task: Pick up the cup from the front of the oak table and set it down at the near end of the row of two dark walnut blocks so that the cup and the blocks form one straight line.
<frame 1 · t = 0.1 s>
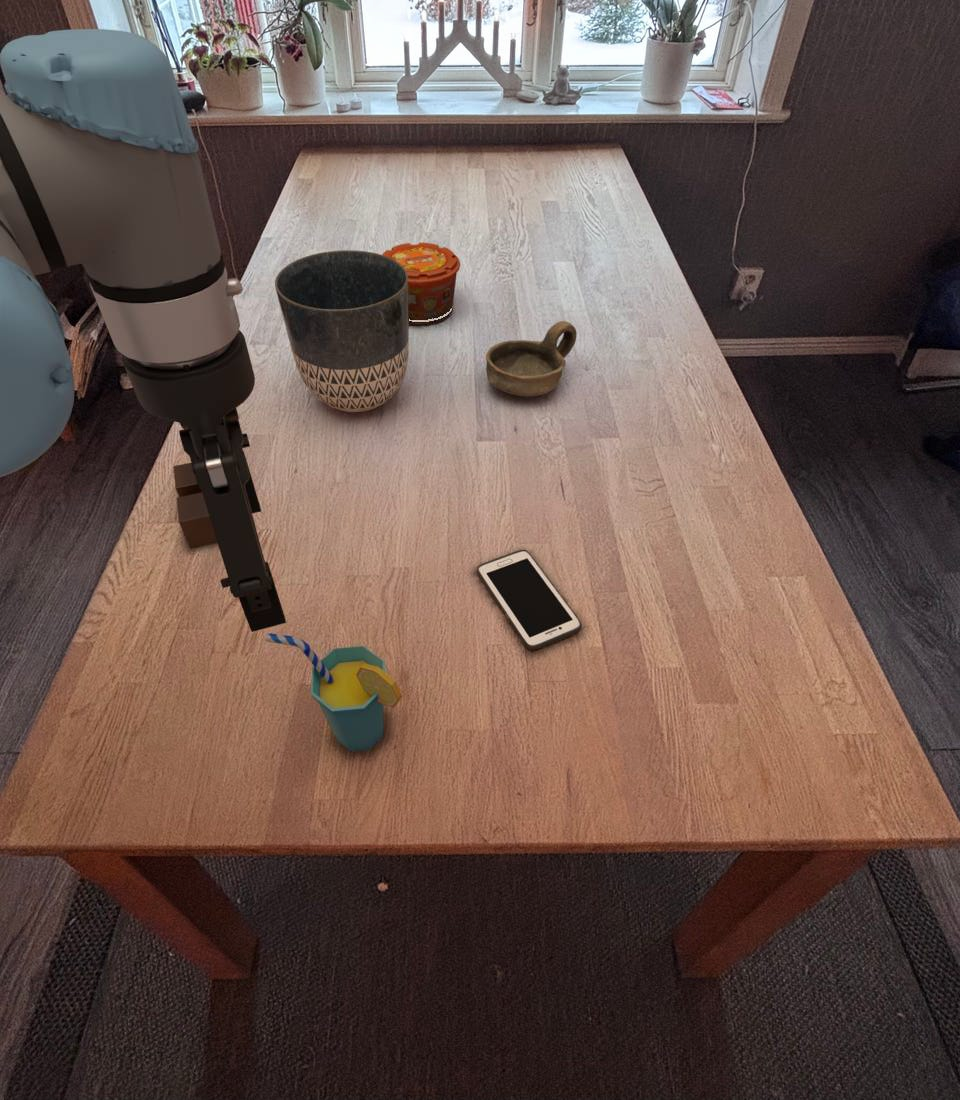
hand: (256, 564, 58), 24 cm above the table, tool pointing down, fingers open, 13 cm apart
cup: (352, 728, 74), on the table
cell phone: (526, 600, 87), on the table
walnut block far: (202, 499, 98), on the table
walnut block near: (207, 531, 94), on the table
bowl: (530, 385, 120), on the table
planter: (358, 401, 116), on the table
food container: (421, 311, 138), on the table
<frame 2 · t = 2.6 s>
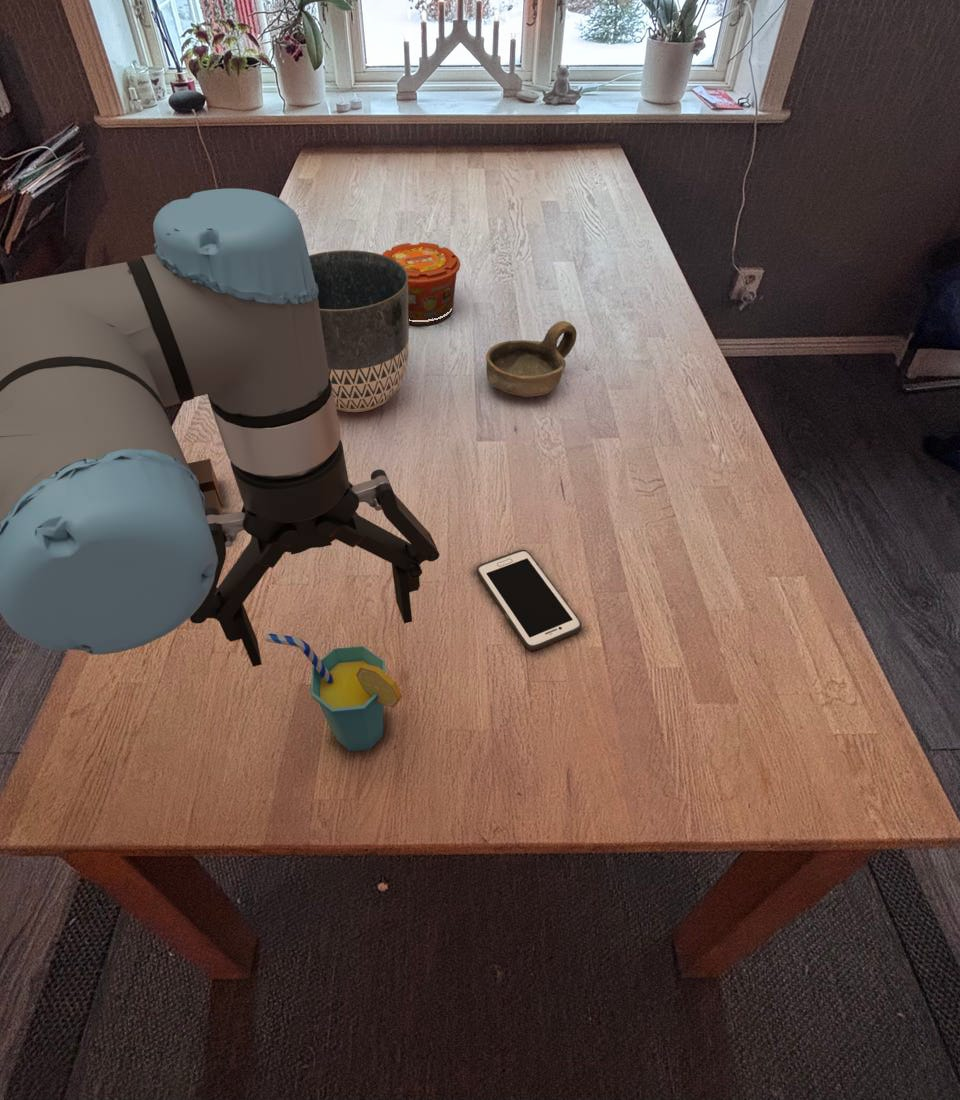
hand: (331, 632, 61), 17 cm above the table, tool pointing down, fingers open, 13 cm apart
nothing on the table moved.
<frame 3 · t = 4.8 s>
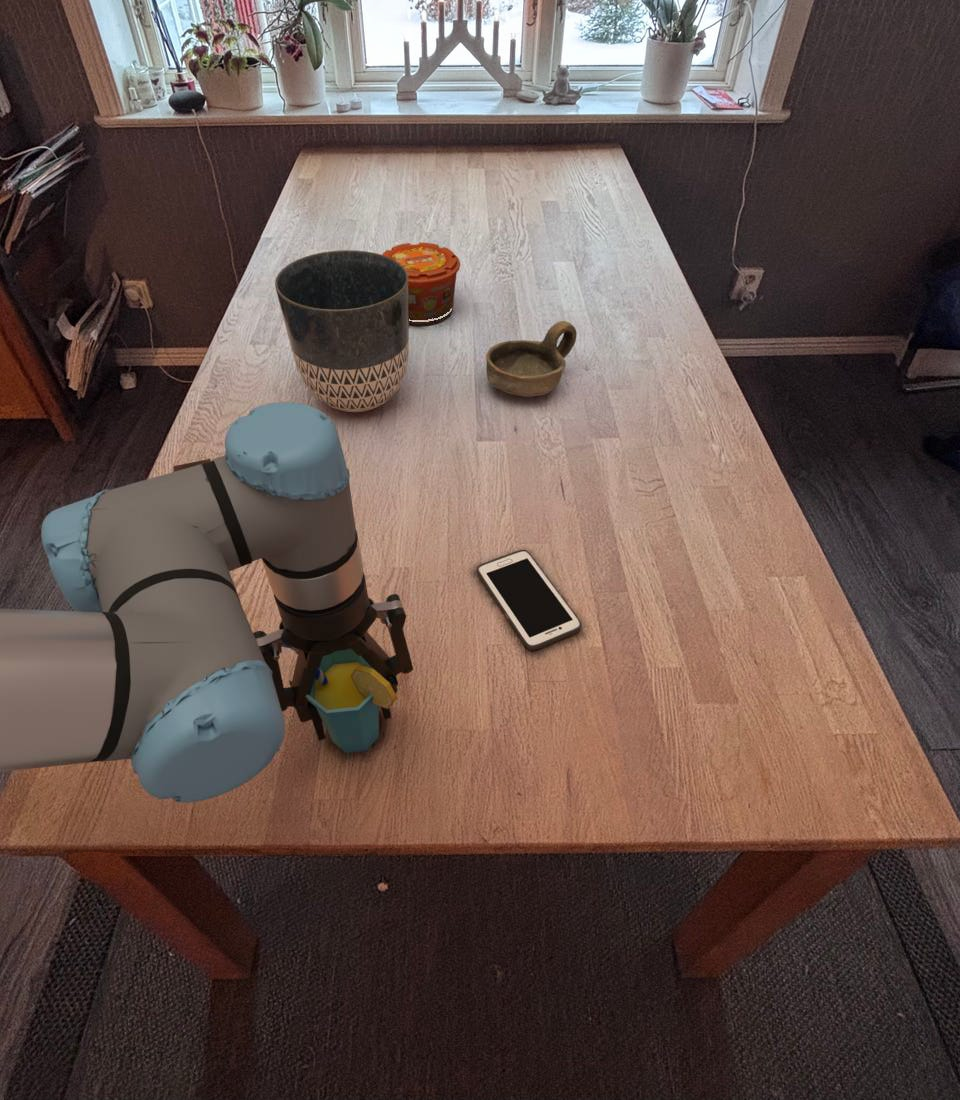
hand: (352, 718, 73), 2 cm above the table, tool pointing down, fingers closed on cup, 6 cm apart
cup: (348, 729, 74), on the table, touching gripper
everything else where it was.
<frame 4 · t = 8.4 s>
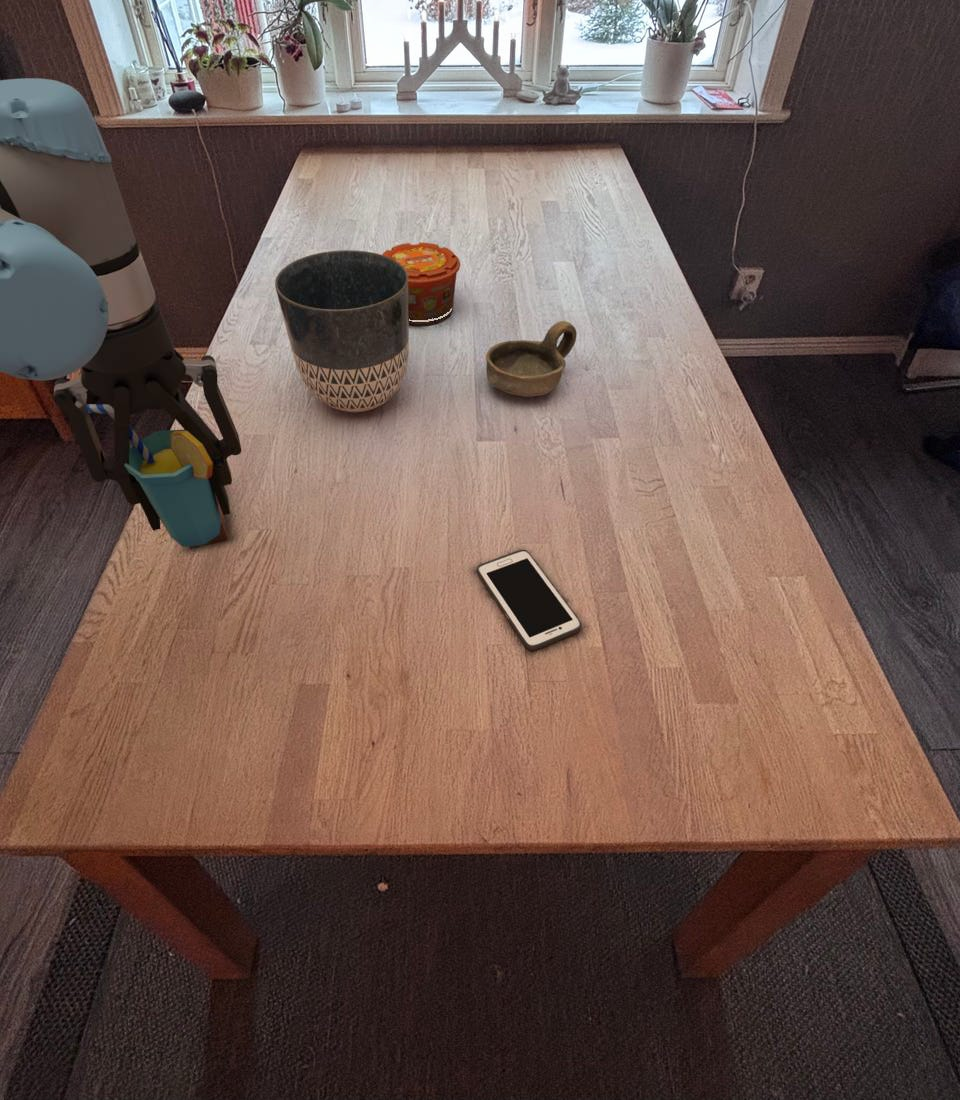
hand: (191, 513, 72), 17 cm above the table, tool pointing down, fingers closed on cup, 6 cm apart
cup: (189, 529, 73), point 15 cm above the table, touching gripper
everything else where it was.
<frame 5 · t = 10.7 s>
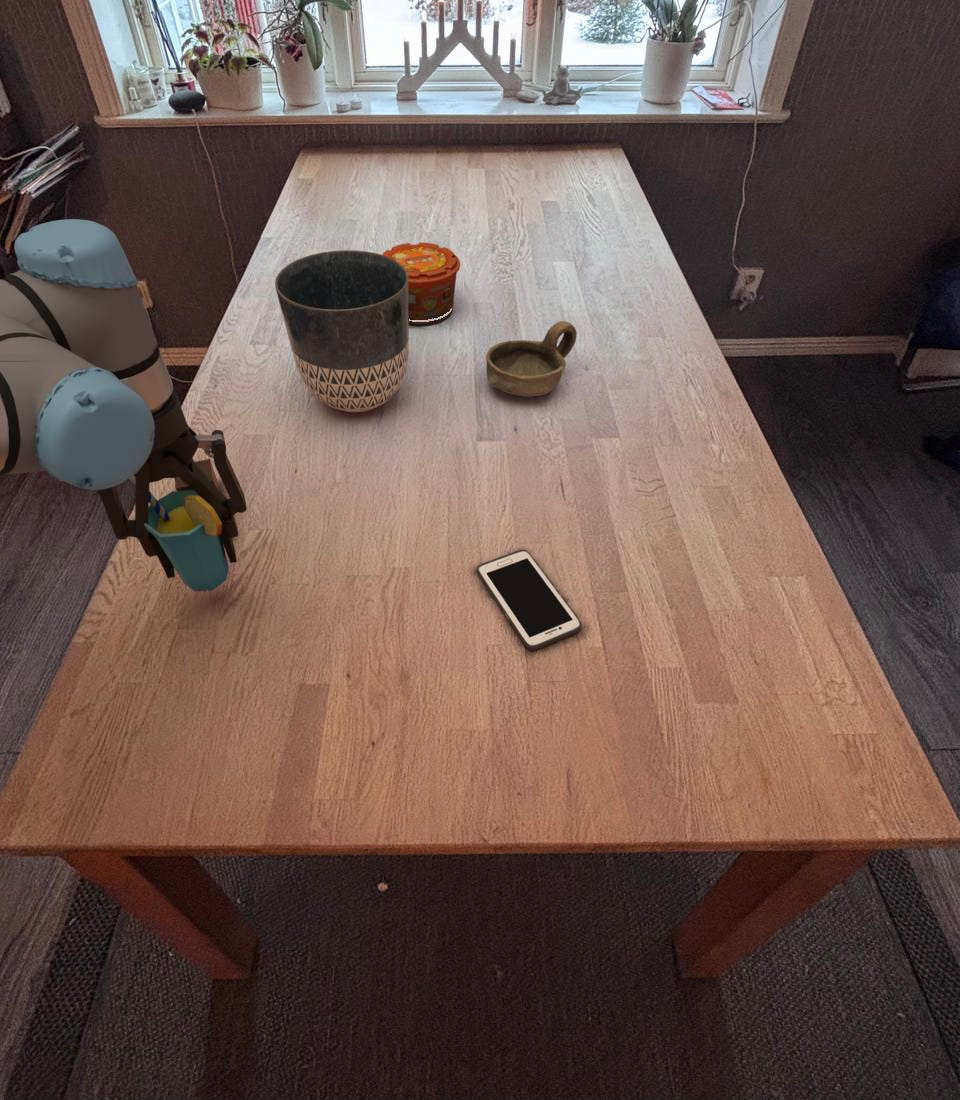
hand: (201, 561, 81), 7 cm above the table, tool pointing down, fingers closed on cup, 6 cm apart
cup: (200, 574, 82), point 5 cm above the table, touching gripper
everything else where it was.
when the fingers open (2 cm above the table, at t = 12.3 s): cup stays where it is, on the table.
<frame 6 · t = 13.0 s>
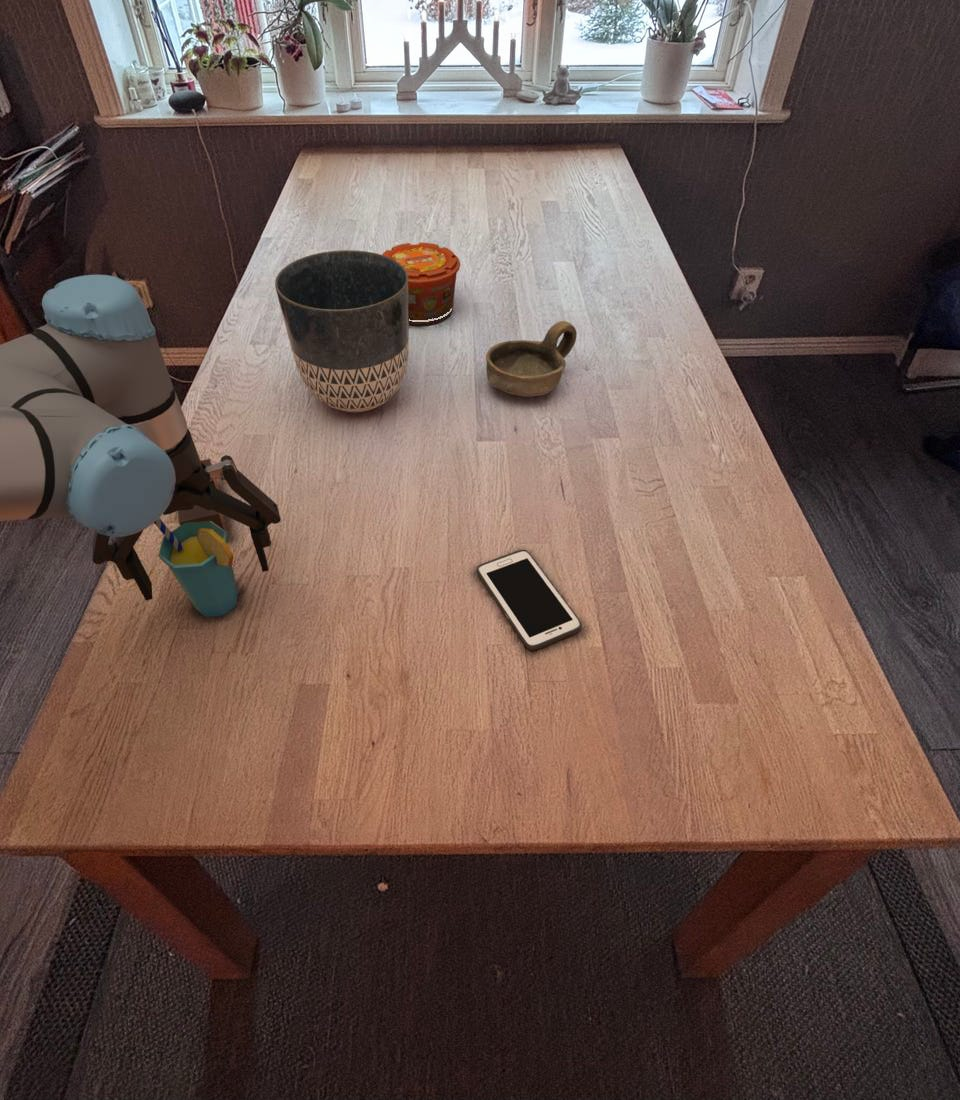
hand: (207, 577, 83), 4 cm above the table, tool pointing down, fingers open, 13 cm apart
cup: (211, 600, 86), on the table
everything else where it was.
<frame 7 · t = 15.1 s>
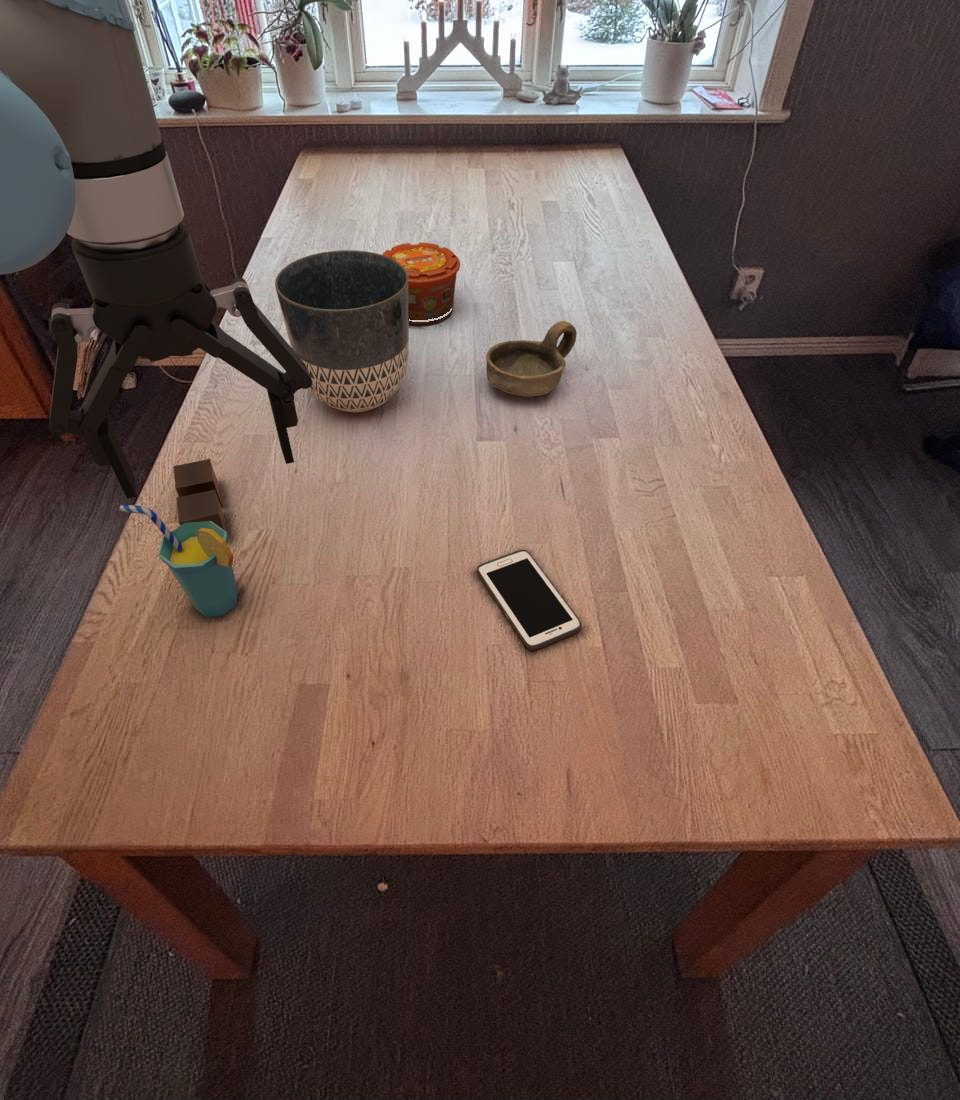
hand: (211, 471, 61), 27 cm above the table, tool pointing down, fingers open, 13 cm apart
nothing on the table moved.
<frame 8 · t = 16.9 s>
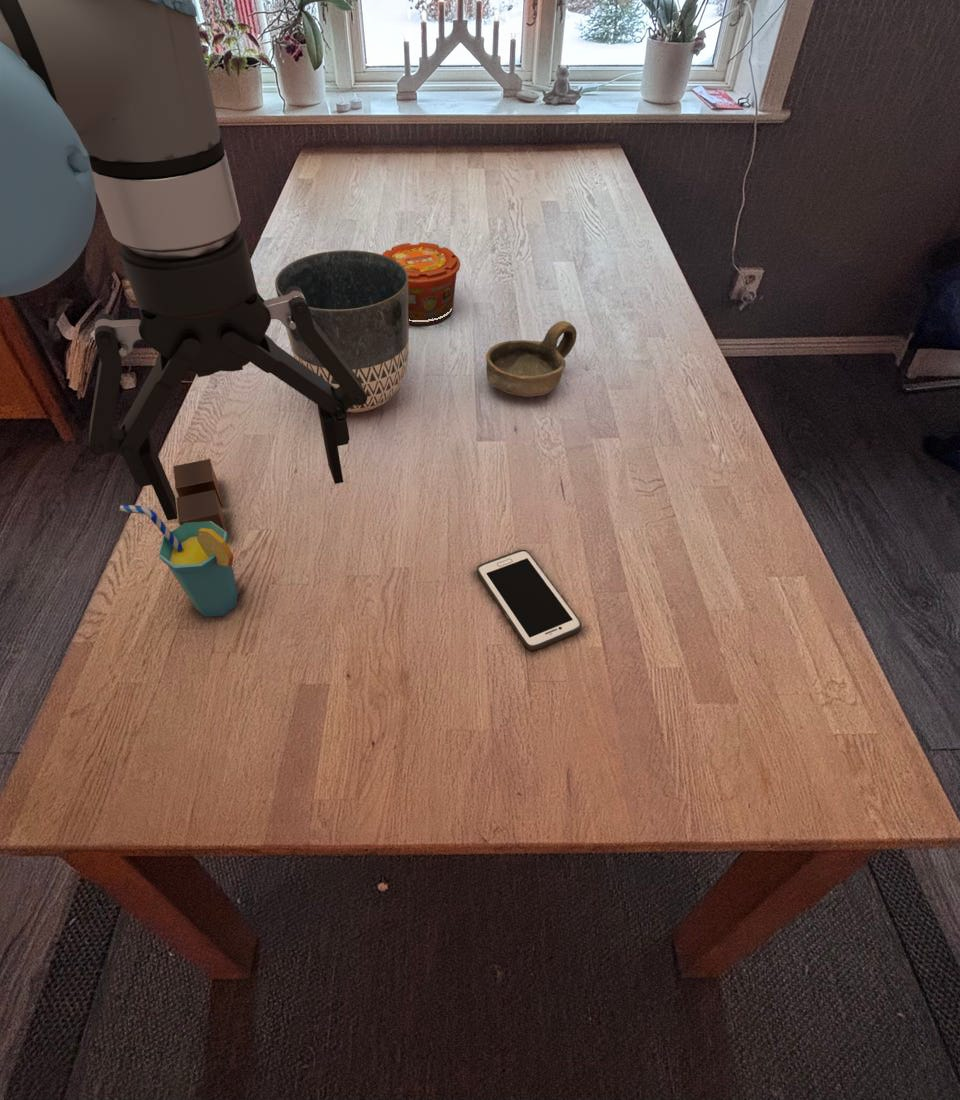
hand: (256, 491, 57), 29 cm above the table, tool pointing down, fingers open, 13 cm apart
nothing on the table moved.
at the end: cup 0.7 cm from the target spot, on the table; cup tilted 0°; walnut block near moved 0.0 cm from its start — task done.
